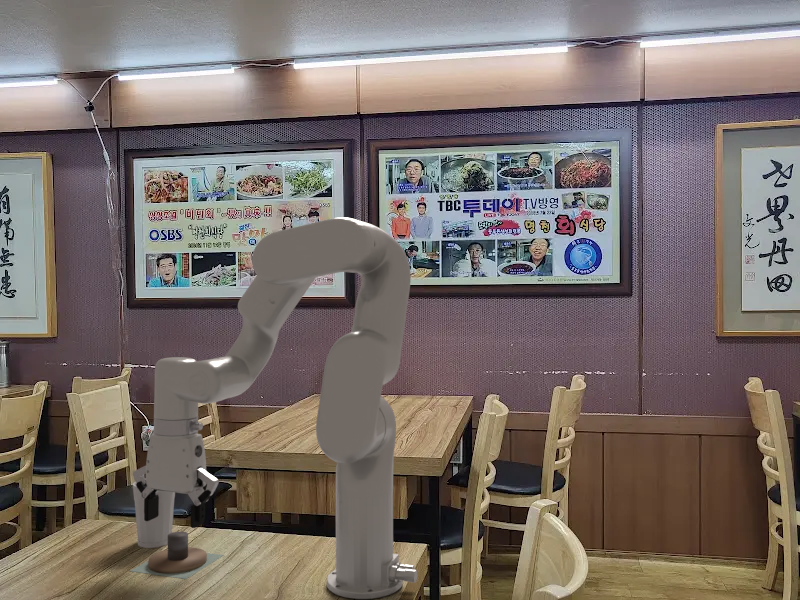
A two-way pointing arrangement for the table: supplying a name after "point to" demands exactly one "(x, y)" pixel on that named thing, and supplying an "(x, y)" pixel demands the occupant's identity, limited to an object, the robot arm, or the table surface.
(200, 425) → the robot arm
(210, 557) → the mat
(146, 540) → the cup
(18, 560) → the table surface
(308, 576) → the table surface
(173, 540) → the lid
